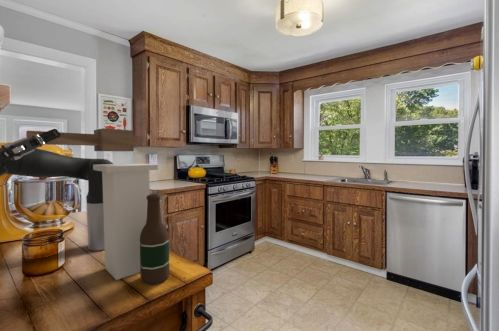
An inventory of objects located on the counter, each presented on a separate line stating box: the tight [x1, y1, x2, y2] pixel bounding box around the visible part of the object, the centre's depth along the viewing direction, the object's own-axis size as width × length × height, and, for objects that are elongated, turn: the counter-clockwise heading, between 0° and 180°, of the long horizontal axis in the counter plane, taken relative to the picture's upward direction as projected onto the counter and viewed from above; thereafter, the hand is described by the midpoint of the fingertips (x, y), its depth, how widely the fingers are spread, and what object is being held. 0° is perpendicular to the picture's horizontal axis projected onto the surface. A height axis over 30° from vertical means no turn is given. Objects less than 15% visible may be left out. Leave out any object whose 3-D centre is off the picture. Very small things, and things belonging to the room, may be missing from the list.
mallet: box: [25, 127, 135, 152], centre depth 69 cm, size 8×23×6 cm, turn 136°
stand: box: [93, 162, 159, 281], centre depth 78 cm, size 13×14×32 cm
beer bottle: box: [139, 193, 170, 286], centre depth 72 cm, size 8×8×24 cm
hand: (56, 132), depth 64 cm, fingers closed on mallet, 3 cm apart
